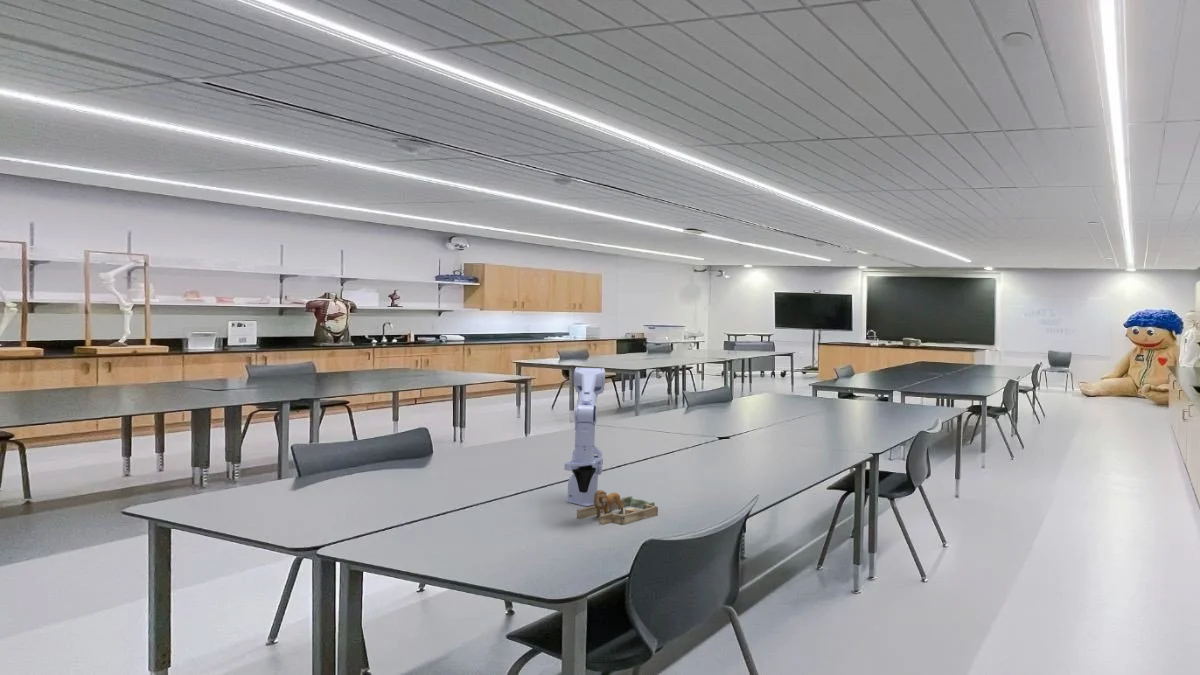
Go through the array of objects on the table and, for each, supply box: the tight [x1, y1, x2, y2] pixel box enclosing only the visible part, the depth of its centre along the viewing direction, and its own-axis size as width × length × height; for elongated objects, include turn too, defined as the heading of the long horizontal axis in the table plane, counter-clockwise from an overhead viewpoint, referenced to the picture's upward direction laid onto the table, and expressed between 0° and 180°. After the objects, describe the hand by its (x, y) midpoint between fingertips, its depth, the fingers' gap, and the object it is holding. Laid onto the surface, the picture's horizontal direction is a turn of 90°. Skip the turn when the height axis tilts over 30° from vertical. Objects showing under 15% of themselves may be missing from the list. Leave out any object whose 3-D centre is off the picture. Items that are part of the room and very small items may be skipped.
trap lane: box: [576, 495, 659, 526], centre depth 239 cm, size 14×25×3 cm, turn 138°
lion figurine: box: [593, 489, 624, 519], centre depth 238 cm, size 15×5×9 cm, turn 151°
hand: (583, 492), depth 229 cm, fingers closed
